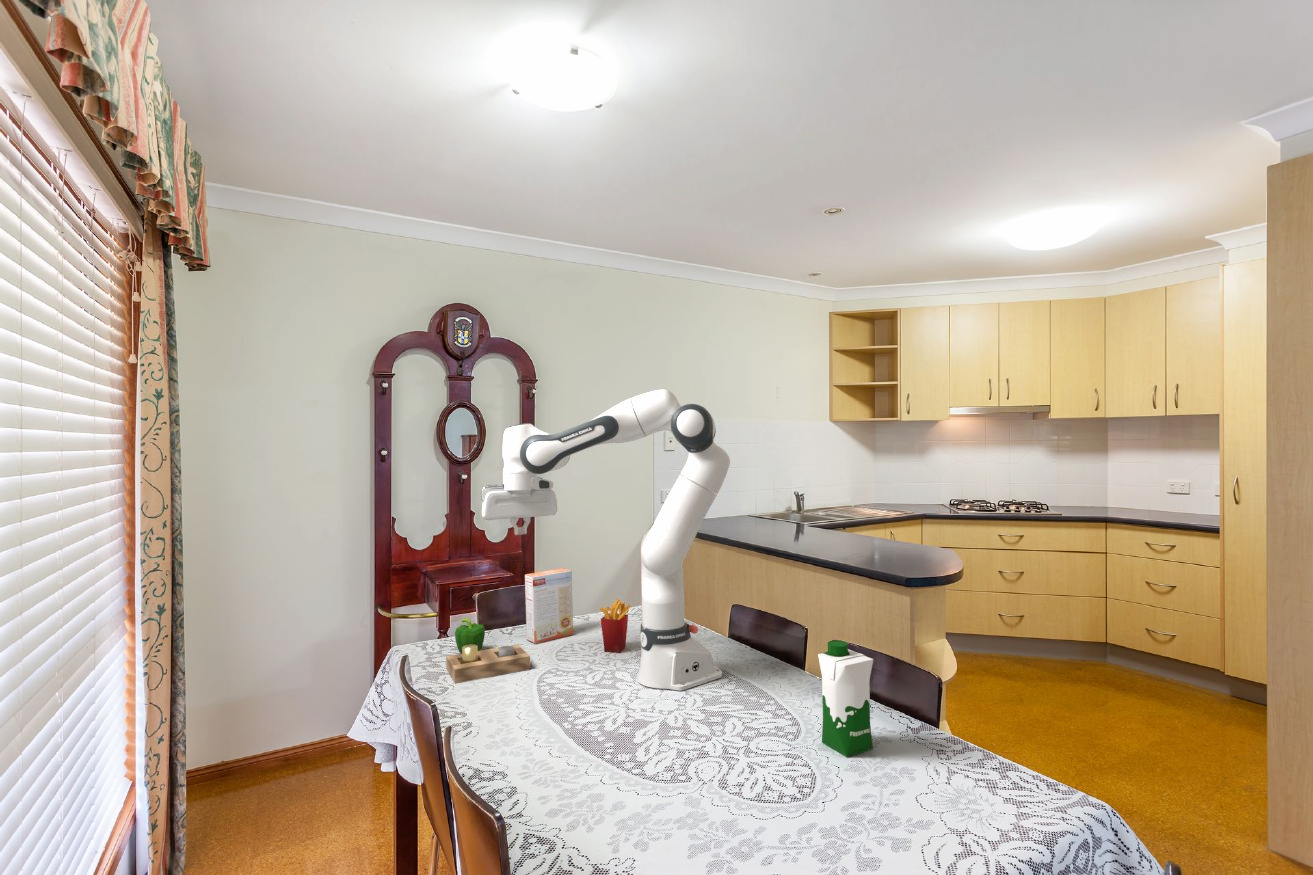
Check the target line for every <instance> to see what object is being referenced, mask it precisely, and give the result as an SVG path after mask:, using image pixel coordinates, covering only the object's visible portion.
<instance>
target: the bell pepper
mask: <svg viewBox="0 0 1313 875" xmlns="http://www.w3.org/2000/svg"><path fill="white" fill-rule="evenodd" d="M460 621H461V622H462V623H466V625H465V624H461V625H460V626H458V627H456V629H455V631H454V640H455V643H456V646H457V650H458V652H459V654H462V647H463V646H465V645H477V646H478V651H481V650H483V649H482V648H483V645H484V642H485V636H486V631H485V630H486V627H485V626H484V624H478V623H476V622H474V623H472V622H471V620H470V619H468V618H462V619H461V620H460Z"/></svg>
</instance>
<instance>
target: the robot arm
mask: <svg viewBox="0 0 1313 875" xmlns="http://www.w3.org/2000/svg"><path fill="white" fill-rule="evenodd" d="M716 429H717V428H716V423H715V419H714V417H713V416H712V413H710V412H709V411H708V410H707V409H706V408H705V407H704V406H702V405H700V404H696V403H687V404H683V405H681V404H680V403H679V401H678V399H677V397H676V395H675V394H674V393H673V392H672V391H670V390H669V389H666V388H661V389H655V390H651V391H647V392H644V393H641V394H637V395H635V396H633V397H630V398H627V399H625V400H623V401H621V402H619V403H618V404H616V405H614V406H612V407H610V408H609V409H607V410H606V411H604V412H602V413H601V414H599V415H598V416H596V417H594V418H592V419H591V420H589V421H587V422H584V423H582V424H579V425H577V426H573V427H571V428H569V429H566V430H563V431H560V432H558V433H554V434H553V433H552V434H551V433H549V432H546V431H544V430H541V429H539V428H538V427H536V426H535V425H533V424H532V423H529V422H525V423H517V424H513V425H510V426H508V427H506V429H505V430H504V431H503V437H502V449H501V450H502V451H501V454H502V455H501V456H502V460H503V469H502V483H500V484H488V485H487V484H486V486H484V487H483V488H482V489H481V491H480V499H481V501H482V503H481V504H482V505H481V517H482V519H484V520H486V521H495V520H506V519H508V520H509V522H510V524H511V526H512V527H513V533H514V535H515V536H519V535H520V536H521V535H527V529H528V526H529V524H530V523H531V518H533V517H535V518H537V517H548V516H555V515H556V514H557V512H558V501H557V496H556V493H555V491H554V490H553V488H554V482H553V481H551V480H549V479H544V478H543V477H539V476H538V477H537V475H543V474H546V473H549V472H553V471H558V470H560V469H561V468H564V466H566V465H567V464H568V463H569V461H570V458H571V456H572V455H575V454H577V453H579V452H581V451H585V450H586V449H590V448H593V447H594V446H599V445H605V444H625V443H629V442H633V441H637V440H641V439H642V438H646V437H648V436H651V435H653V434H656V433H659V432H661V431H668V432H671V433H672V435H673V437H674V438H675V440H676V442H677V443H678V444H679V445H681V446H682V447H683V448H684V449H685V450H686V451H687V453H688V456H687V459H686V462H685V465H684V466H683V468H682V470H681V472H679V473H680V474H679V475H678V477H677V478H676V481H675V482H674V484H673V486H672V487H671V490H670V491H669V493H668V494H667V496H666V498H665V500H664V502H663V504H662V506H661V508H660V511H659V512H658V515H657V516H656V518H655V519H654V522H653V524H652V526H651V527H650V528H649V529H648V530H646V531H645V533H644V534H643V536H642V538H641V541H640V561H641V562H640V564H641V565H640V569H641V574H640V575H641V578H640V580H641V583H640V584H641V585H640V586H641V624H640V631H639V632H640V634H639V635H640V636H639V638H640V647H641V651H640V662H639V668H638V672H637V675H636V681H637V682H638V683H639V684H640V685H642V686H645V687H648V688H653V689H662V690H663V689H666V690H667V689H668V690H673V691H685V690H689V689H690V688H694V687H697V686H700V685H702V684H705V683H710V682H712V681H715V680H717V679H720V678H723V671H722V669H721V668H720V667H719V666H718V665H716V664H714V659H713V656H712V653H711V651H710V650H709V648H707V647H706V646H705V645H703V644H702V643H700V641H698V640H697V639H695V638H694V637H693V636H692V634H693V635H696V634H697V633H698V632H699V626H697V625H695V624H689V623H687V622H686V621H685V589H684V588H685V586H684V572H683V571H684V570H683V567H684V566H683V563H684V561H685V559H686V557H687V555H688V552H689V551H690V549H691V547H692V545H693V543H694V540H695V539H696V537H697V534H698V531H699V529H700V527H701V525H702V522H704V520H705V517H706V516H707V514H708V512H709V510H710V508H711V506H712V505H713V503H714V501H715V499H716V498H717V496H718V494H719V493H720V491H721V488H722V486H723V484H724V481H725V479H726V477H727V474H728V470H729V467H730V465H731V460H730V456H729V455H728V453H727V452H726V450H724V449H723V448H722V447H720V446H719V445H717V444H716V443H715V437H716V432H717V431H716ZM520 518H522V519H523V521H524V523H523V525H522V526H521V527H519V526H518V525H517V522H518V519H520Z"/></svg>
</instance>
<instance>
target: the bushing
mask: <svg viewBox="0 0 1313 875" xmlns="http://www.w3.org/2000/svg"><path fill="white" fill-rule="evenodd" d="M477 661H478V646H477V645H465V646H463V647H462V664H465V663H471V662H477Z"/></svg>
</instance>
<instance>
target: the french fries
mask: <svg viewBox="0 0 1313 875" xmlns="http://www.w3.org/2000/svg"><path fill="white" fill-rule="evenodd" d="M631 607H632V606H631V605H630V604H628V605H627V604H625V601H623V602H621V601H620V600H619V599H617V598H616V599H615V601H614V602H613V603H612V605H611V607H609V606H608V605H607V606H605V608H604V607H602V606H601V607H600V608H599V610H600V611H601V612H602V613H603V614H604V616H602V617H601V618H600V625H601V633H602V634H601V635H602V639H603V640H602V642H603V650H604V653H611V654H612V653H613V654H621V653H622V652H623V651H624V650H625V649H626V647H627V645H626V644H627V633H628V621H629V614H627V613H628V612H629V609H630V608H631Z"/></svg>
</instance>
